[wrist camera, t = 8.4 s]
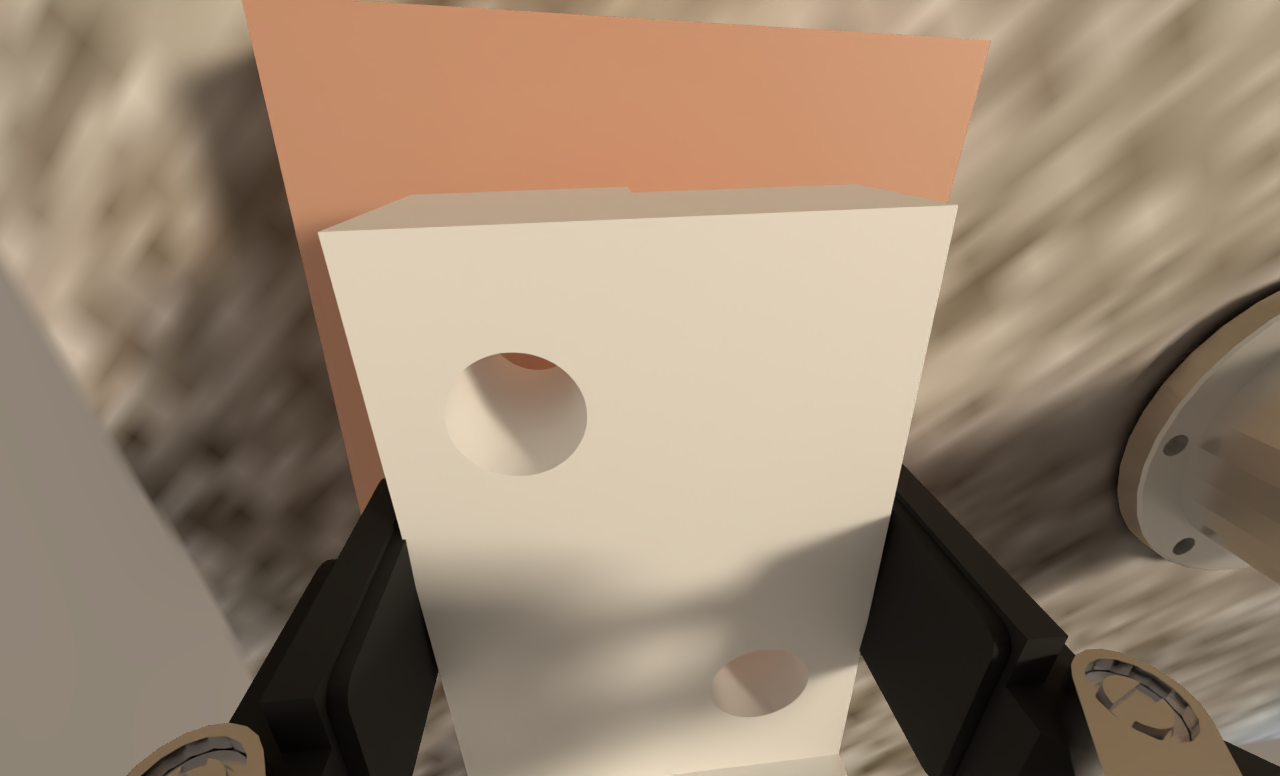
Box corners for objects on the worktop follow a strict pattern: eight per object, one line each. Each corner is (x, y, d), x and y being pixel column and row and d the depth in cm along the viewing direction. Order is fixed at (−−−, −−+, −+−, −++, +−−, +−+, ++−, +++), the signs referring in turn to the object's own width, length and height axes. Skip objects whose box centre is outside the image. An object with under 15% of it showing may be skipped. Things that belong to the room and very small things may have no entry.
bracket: (771, 678, 15) (928, 1129, 8) (512, 708, 15) (454, 1217, 8) (830, 178, 9) (1471, 308, 3) (411, 194, 9) (-130, 411, 2)
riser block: (888, 61, 14) (991, 40, 11) (789, 553, 22) (830, 637, 18) (333, 29, 13) (240, -7, 9) (427, 569, 20) (395, 665, 17)
